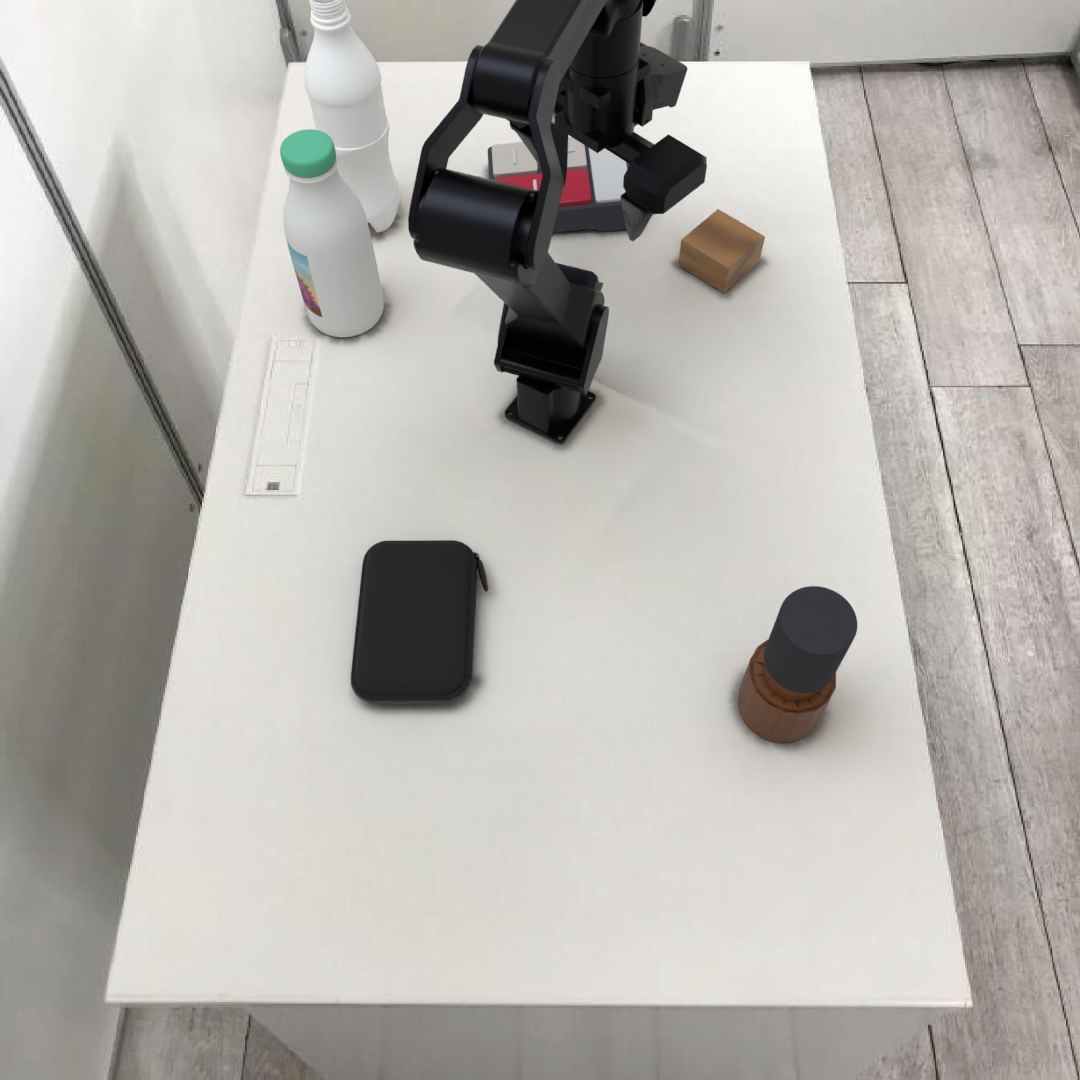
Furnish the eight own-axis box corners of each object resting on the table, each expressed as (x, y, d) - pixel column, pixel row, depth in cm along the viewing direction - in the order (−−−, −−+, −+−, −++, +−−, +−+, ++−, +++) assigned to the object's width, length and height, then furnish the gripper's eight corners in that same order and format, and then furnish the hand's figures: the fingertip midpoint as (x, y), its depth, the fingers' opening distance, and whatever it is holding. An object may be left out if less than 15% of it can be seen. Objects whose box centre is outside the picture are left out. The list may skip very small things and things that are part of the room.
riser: (724, 293, 107) (728, 268, 104) (677, 265, 110) (680, 239, 107) (759, 262, 110) (765, 236, 107) (713, 234, 112) (717, 208, 109)
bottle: (798, 758, 82) (821, 716, 75) (723, 717, 84) (739, 672, 77) (832, 692, 85) (857, 646, 78) (759, 654, 87) (777, 605, 80)
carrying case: (485, 709, 85) (490, 550, 92) (483, 694, 82) (488, 531, 90) (351, 710, 85) (367, 551, 92) (344, 695, 82) (362, 532, 90)
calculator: (486, 140, 115) (625, 126, 114) (490, 172, 118) (625, 159, 118) (490, 211, 109) (636, 196, 108) (494, 242, 113) (636, 229, 112)
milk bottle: (391, 285, 109) (359, 117, 92) (377, 342, 105) (342, 178, 88) (317, 280, 109) (271, 112, 92) (301, 337, 105) (250, 173, 88)
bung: (745, 666, 79) (763, 617, 72) (792, 624, 80) (813, 571, 74) (799, 715, 77) (823, 669, 70) (846, 670, 78) (873, 621, 71)
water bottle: (393, 245, 112) (353, 23, 90) (327, 236, 113) (273, 14, 91) (411, 199, 115) (377, -26, 94) (347, 191, 116) (299, -34, 95)
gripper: (763, 59, 81) (735, 217, 95) (585, -38, 88) (582, 122, 102) (667, 129, 77) (652, 284, 91) (489, 22, 84) (499, 180, 98)
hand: (596, 212), depth 95 cm, fingers open, 9 cm apart
